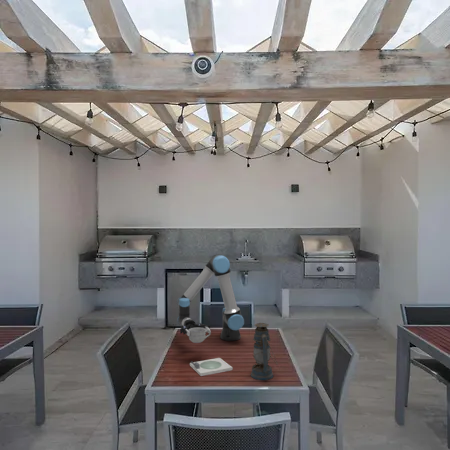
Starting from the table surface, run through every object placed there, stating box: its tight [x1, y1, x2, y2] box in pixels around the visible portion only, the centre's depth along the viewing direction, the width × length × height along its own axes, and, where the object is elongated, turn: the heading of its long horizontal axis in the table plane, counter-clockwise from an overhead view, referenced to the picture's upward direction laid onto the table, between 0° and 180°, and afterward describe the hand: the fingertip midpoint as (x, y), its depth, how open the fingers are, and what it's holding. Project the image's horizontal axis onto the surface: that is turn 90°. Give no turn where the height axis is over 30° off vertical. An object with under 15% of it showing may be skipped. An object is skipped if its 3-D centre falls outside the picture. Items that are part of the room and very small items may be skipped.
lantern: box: [250, 322, 279, 381], centre depth 216 cm, size 19×14×30 cm
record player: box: [189, 357, 233, 377], centre depth 229 cm, size 20×18×4 cm
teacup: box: [188, 328, 212, 344], centre depth 240 cm, size 14×11×8 cm
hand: (199, 332), depth 239 cm, fingers closed on teacup, 13 cm apart
